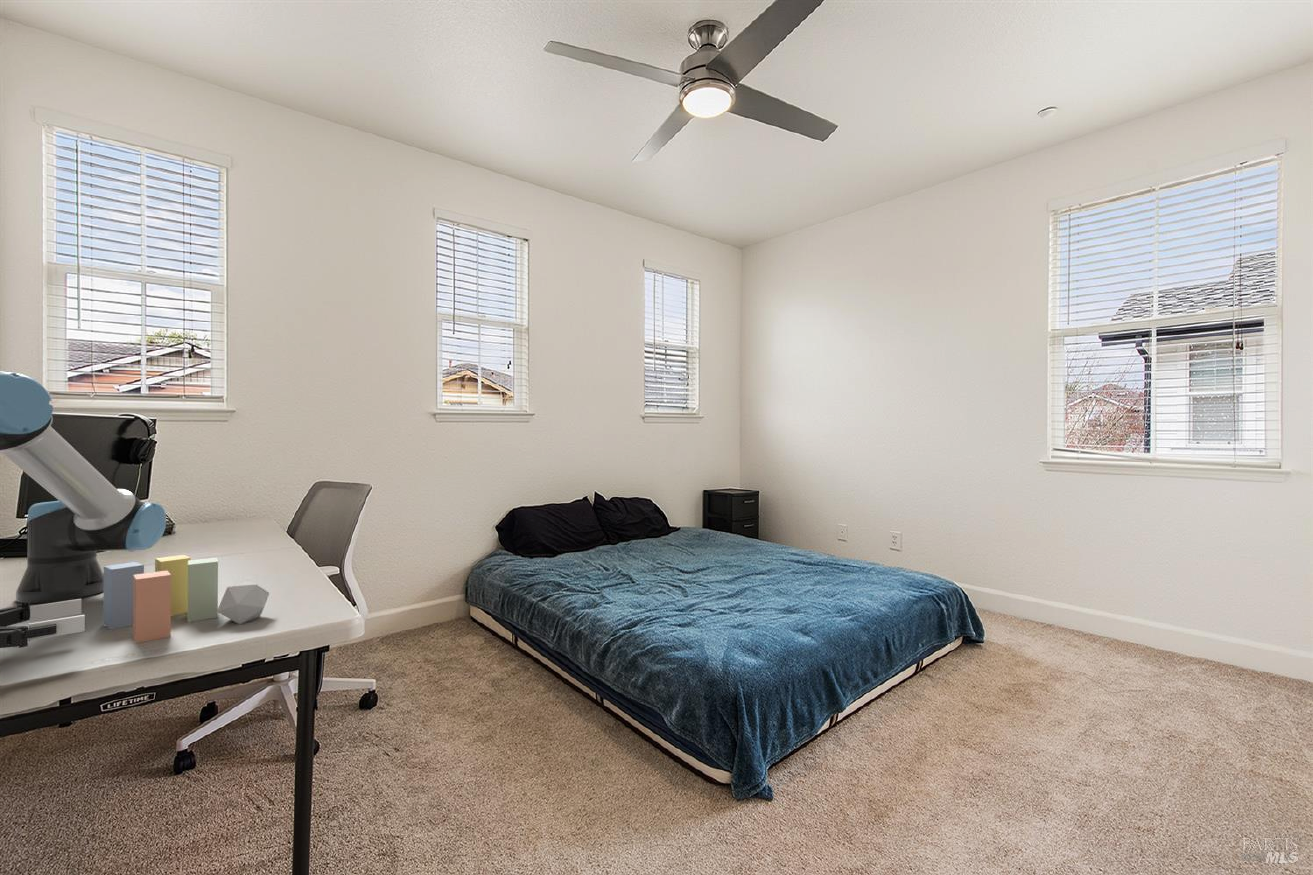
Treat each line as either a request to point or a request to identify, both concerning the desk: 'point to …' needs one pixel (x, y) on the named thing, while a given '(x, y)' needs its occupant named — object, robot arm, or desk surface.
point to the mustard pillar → (176, 580)
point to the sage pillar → (202, 589)
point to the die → (243, 602)
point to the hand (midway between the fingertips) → (83, 613)
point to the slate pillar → (119, 594)
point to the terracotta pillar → (151, 606)
